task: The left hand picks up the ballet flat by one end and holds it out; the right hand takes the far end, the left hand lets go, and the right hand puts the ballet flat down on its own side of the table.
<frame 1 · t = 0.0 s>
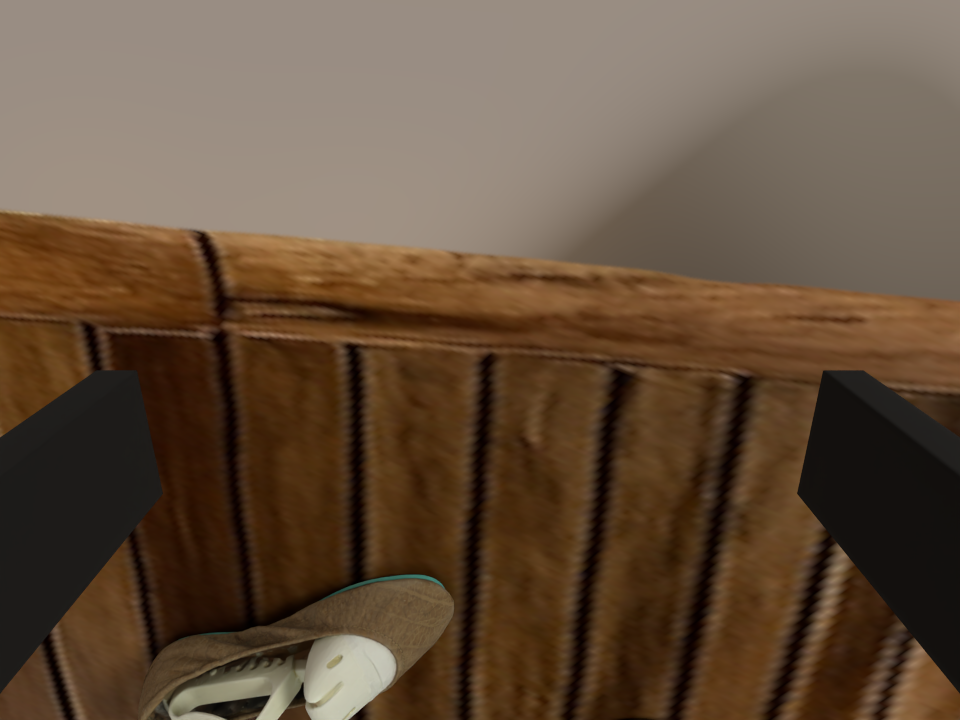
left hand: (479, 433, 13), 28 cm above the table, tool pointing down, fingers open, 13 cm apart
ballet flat: (306, 628, 50), on the table
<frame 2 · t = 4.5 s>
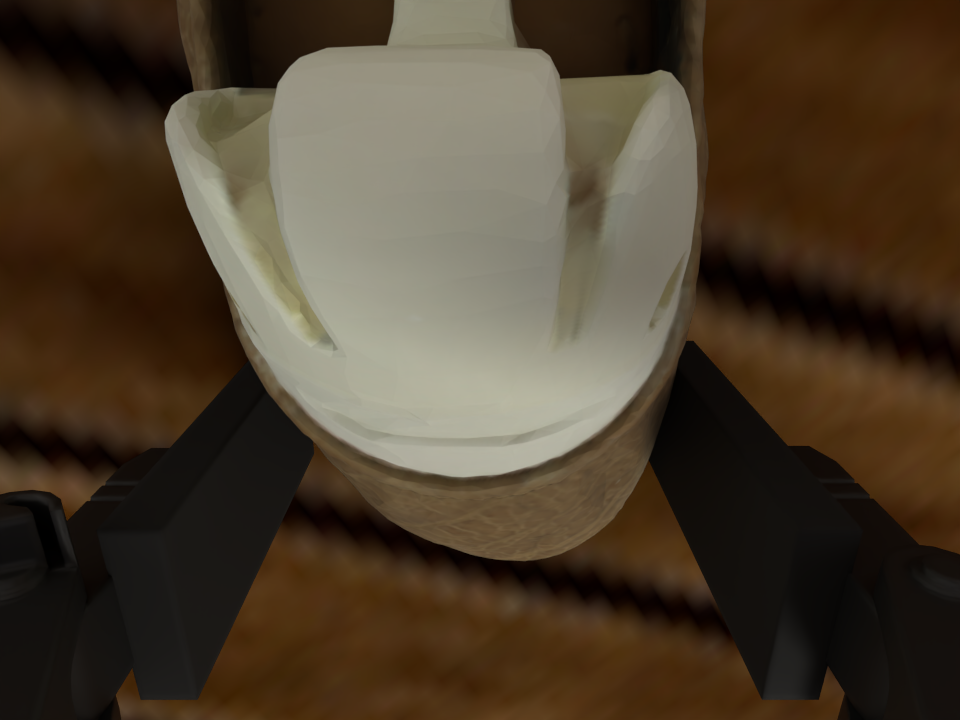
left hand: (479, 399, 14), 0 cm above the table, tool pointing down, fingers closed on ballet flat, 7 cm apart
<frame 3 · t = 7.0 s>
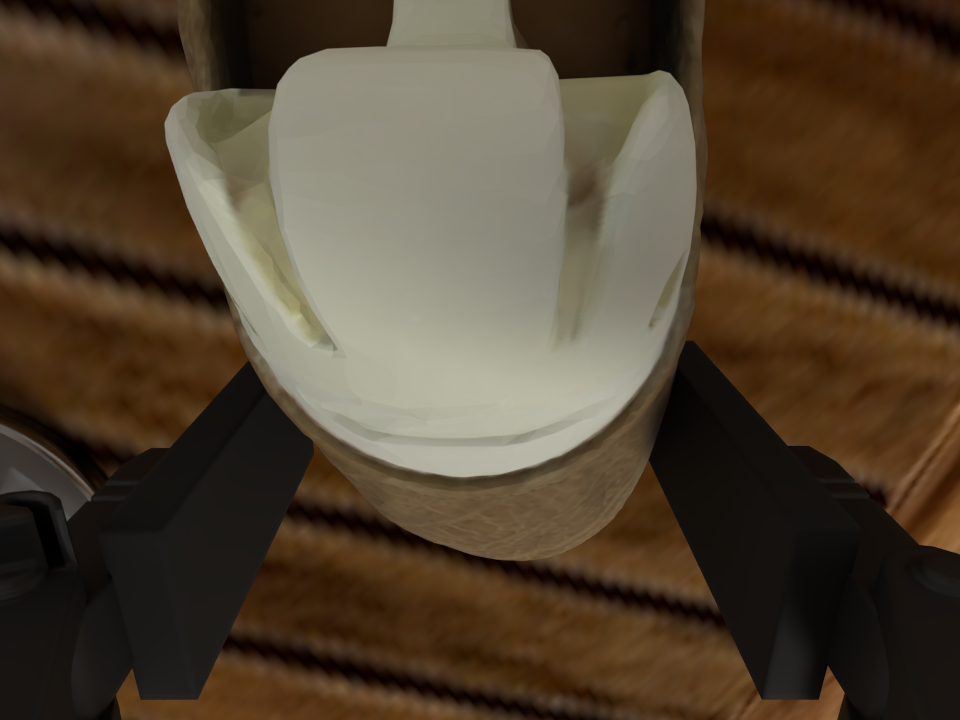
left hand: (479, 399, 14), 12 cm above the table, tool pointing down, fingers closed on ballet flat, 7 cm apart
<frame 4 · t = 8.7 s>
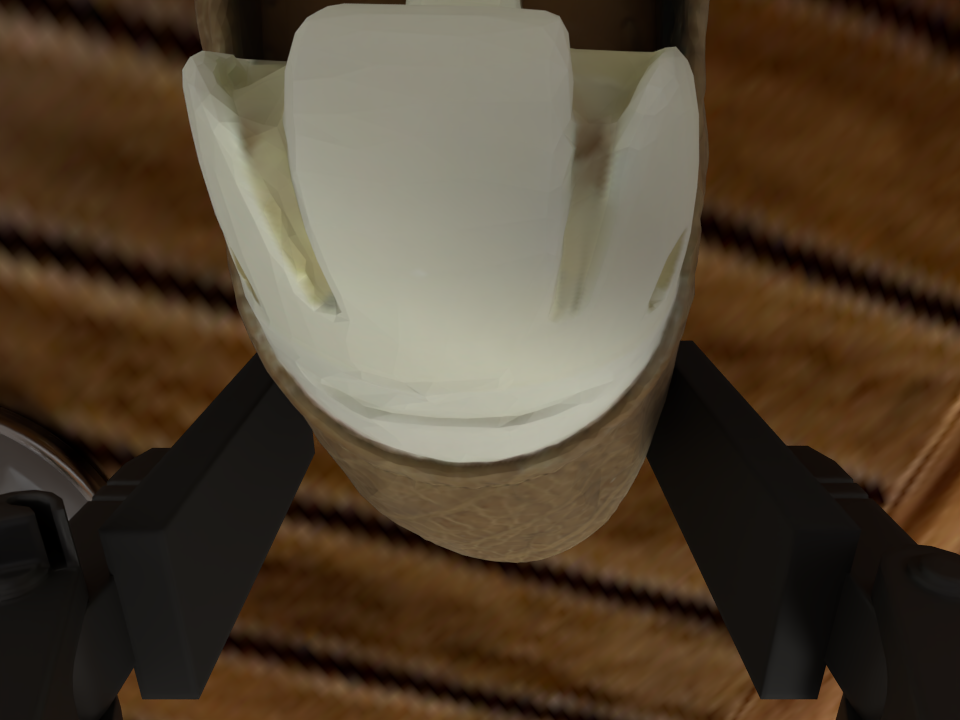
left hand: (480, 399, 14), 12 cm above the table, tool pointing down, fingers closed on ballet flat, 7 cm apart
when the left hand's fingers open (12 cm above the table, at t = 9.7 s): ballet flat stays where it is, held by the right hand.
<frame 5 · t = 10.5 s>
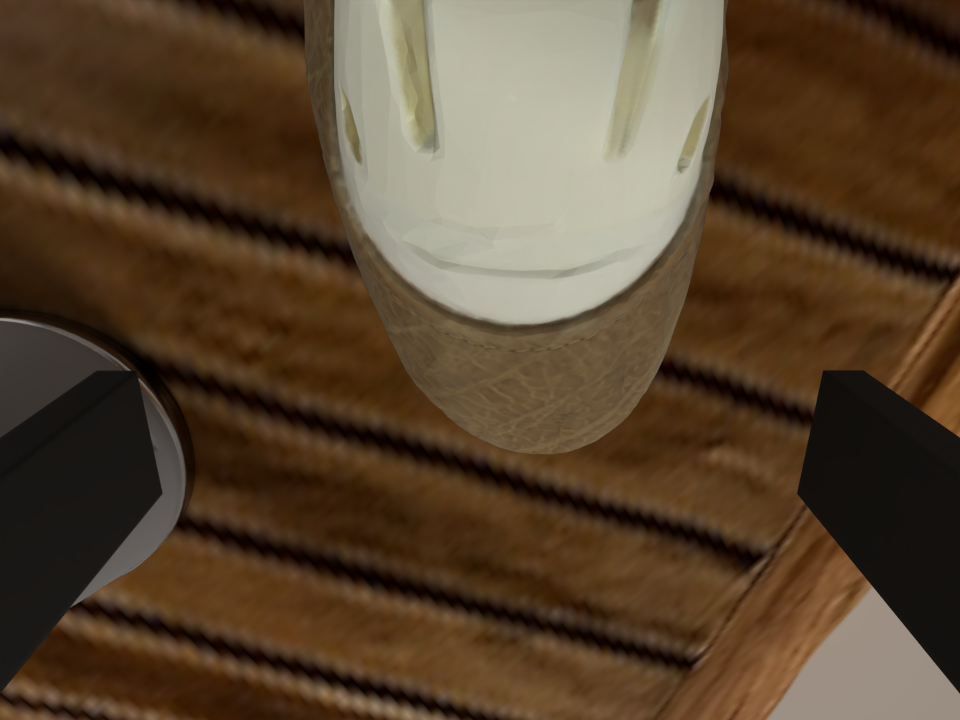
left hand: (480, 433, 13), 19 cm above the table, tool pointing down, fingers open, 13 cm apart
when the right hand's fingers open (5 cm above the table, at t = 18.8 s): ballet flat drops 1 cm, on the table.
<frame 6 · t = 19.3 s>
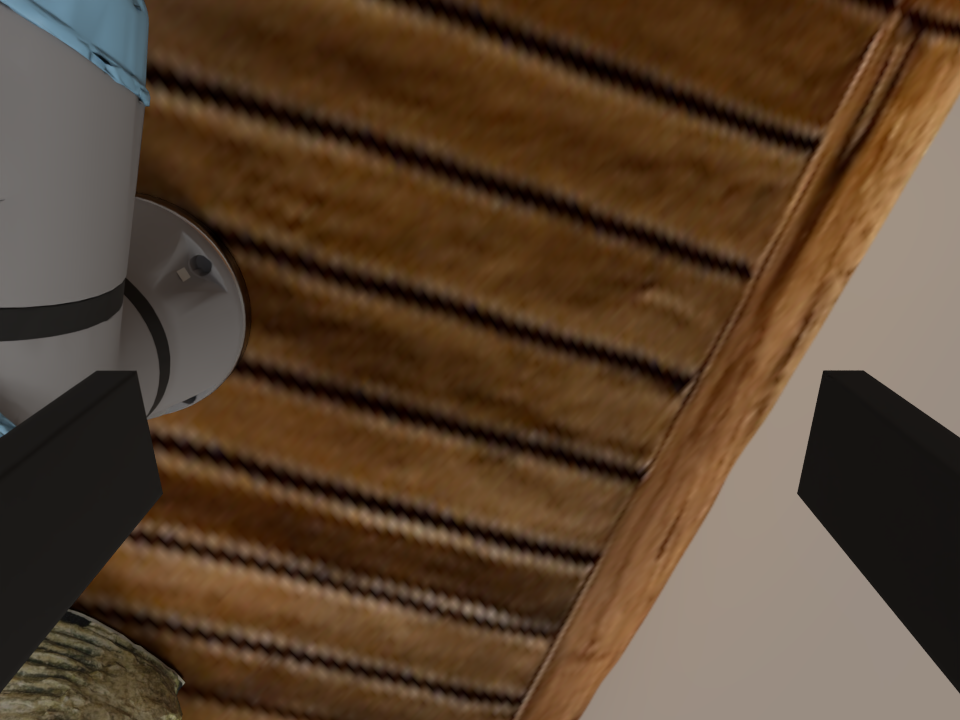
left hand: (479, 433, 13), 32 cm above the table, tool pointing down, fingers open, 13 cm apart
fossil: (103, 654, 57), on the table
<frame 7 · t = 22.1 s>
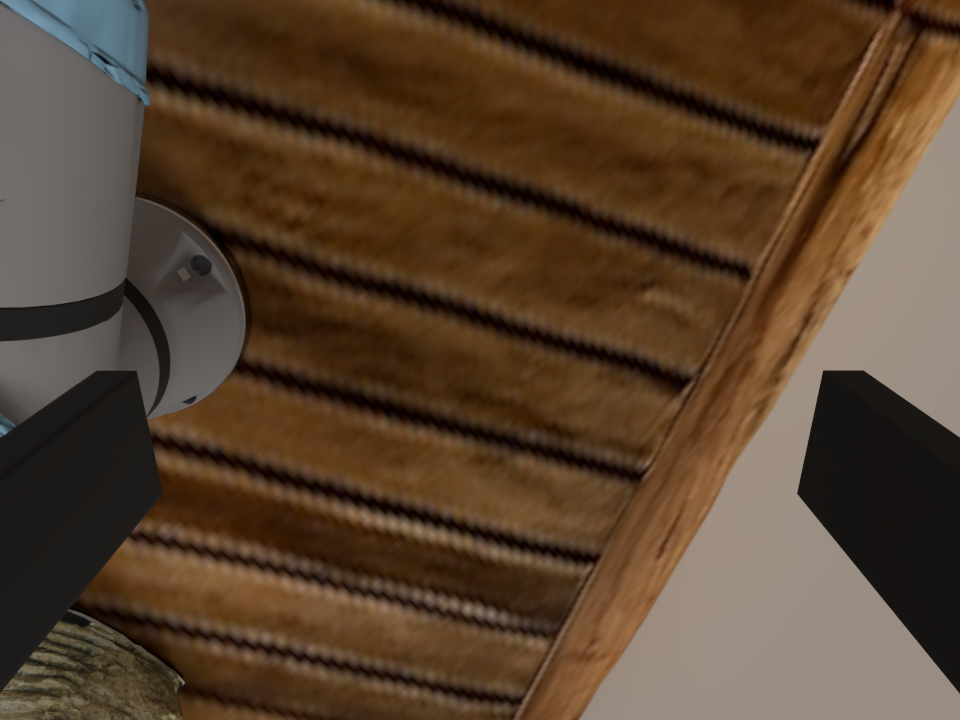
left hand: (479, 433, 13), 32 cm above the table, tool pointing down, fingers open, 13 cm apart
fossil: (103, 654, 57), on the table
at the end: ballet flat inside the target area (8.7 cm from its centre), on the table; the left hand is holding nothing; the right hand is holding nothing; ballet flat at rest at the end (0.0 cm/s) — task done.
